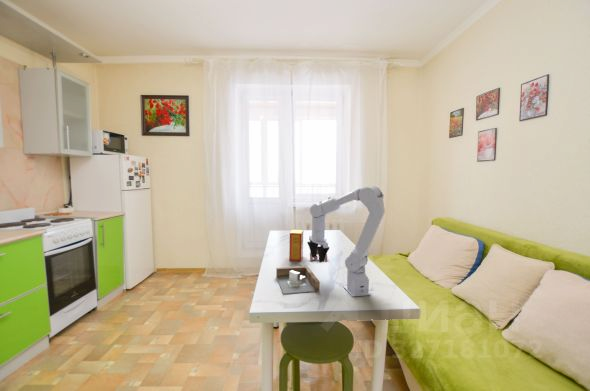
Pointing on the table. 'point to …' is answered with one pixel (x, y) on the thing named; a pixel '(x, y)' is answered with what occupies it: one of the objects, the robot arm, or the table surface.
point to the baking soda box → (296, 245)
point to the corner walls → (303, 271)
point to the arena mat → (294, 286)
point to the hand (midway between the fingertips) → (317, 259)
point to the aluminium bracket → (296, 278)
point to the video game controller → (316, 256)
